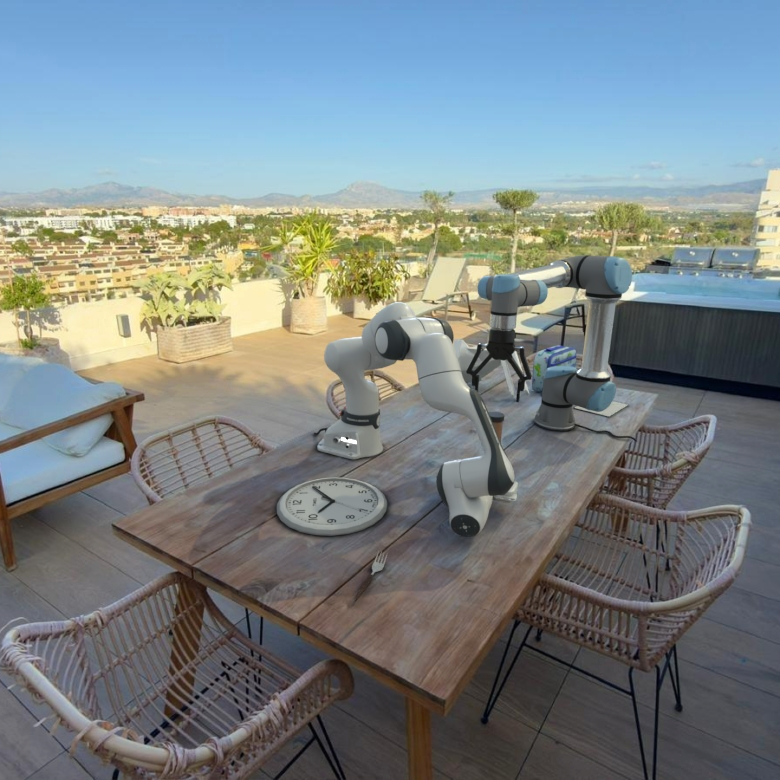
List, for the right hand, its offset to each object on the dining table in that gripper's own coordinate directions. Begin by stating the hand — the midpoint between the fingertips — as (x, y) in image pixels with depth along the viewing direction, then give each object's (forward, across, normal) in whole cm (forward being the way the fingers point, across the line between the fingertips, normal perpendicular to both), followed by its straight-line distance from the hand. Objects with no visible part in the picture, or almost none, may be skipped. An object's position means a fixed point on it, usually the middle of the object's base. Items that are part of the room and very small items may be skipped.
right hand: (496, 398), depth 160 cm
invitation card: (+23, -37, -78) cm, 89 cm away
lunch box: (+23, -16, -95) cm, 99 cm away
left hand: (+17, 0, +17) cm, 24 cm away
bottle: (+23, 0, 0) cm, 23 cm away
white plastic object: (+23, +16, -79) cm, 84 cm away
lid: (+5, 0, 0) cm, 5 cm away
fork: (+23, +17, +65) cm, 71 cm away
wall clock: (+23, +38, +39) cm, 59 cm away
